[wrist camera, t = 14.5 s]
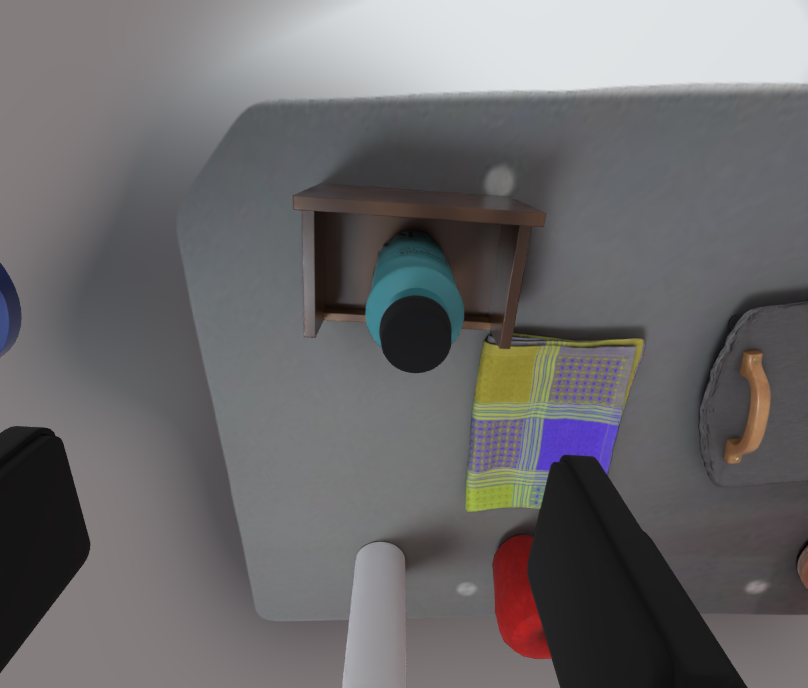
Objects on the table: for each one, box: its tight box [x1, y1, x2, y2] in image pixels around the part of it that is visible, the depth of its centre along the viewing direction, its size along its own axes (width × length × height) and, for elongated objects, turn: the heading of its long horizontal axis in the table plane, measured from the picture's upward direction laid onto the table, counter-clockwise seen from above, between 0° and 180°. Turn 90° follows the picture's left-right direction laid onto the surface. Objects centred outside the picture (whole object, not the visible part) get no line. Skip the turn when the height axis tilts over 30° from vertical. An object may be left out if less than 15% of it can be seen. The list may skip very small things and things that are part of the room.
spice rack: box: [293, 183, 546, 349], centre depth 40 cm, size 18×12×12 cm, turn 86°
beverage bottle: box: [365, 229, 464, 373], centre depth 33 cm, size 6×7×20 cm
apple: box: [492, 535, 551, 659], centre depth 55 cm, size 11×10×14 cm
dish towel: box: [465, 333, 645, 512], centre depth 52 cm, size 18×24×3 cm
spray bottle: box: [342, 542, 406, 688], centre depth 50 cm, size 7×7×25 cm
